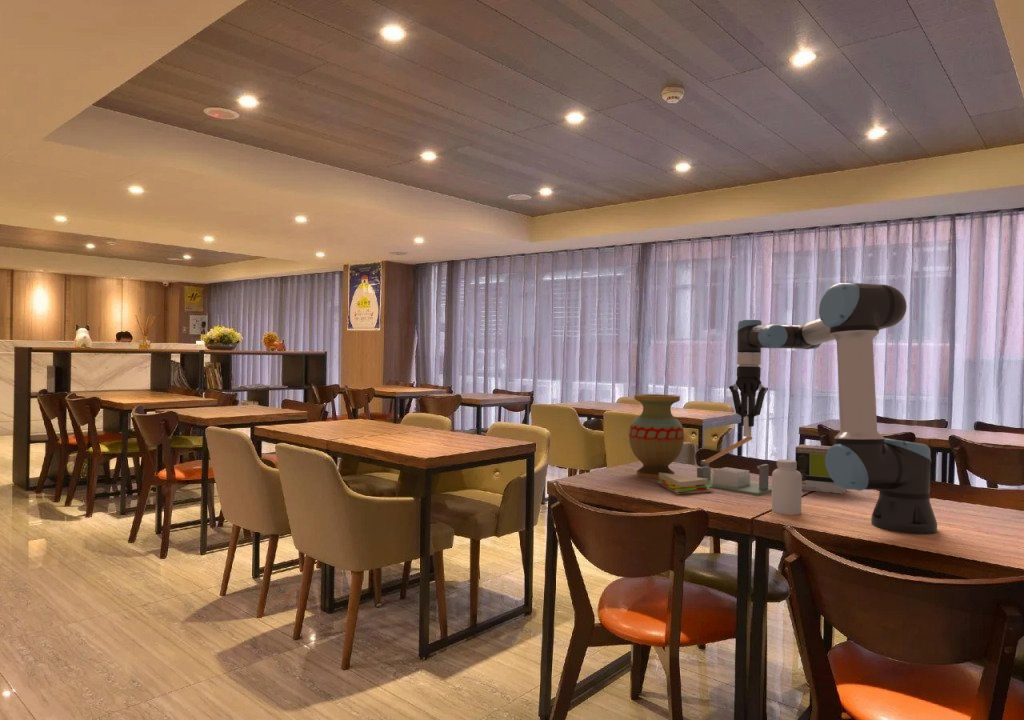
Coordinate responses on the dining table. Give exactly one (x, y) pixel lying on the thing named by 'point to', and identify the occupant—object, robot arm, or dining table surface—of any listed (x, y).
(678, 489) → the sandwich
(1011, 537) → the dining table surface
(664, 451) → the vase
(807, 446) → the tea box
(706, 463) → the wooden stick
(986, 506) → the dining table surface
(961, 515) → the dining table surface
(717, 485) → the heatsink board
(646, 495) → the dining table surface
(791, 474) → the pill bottle
